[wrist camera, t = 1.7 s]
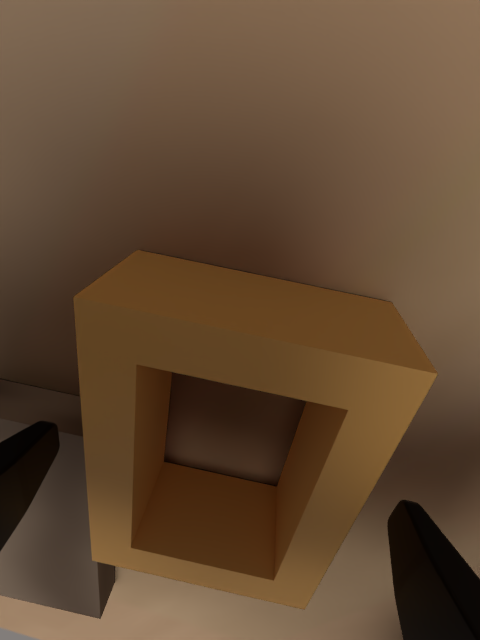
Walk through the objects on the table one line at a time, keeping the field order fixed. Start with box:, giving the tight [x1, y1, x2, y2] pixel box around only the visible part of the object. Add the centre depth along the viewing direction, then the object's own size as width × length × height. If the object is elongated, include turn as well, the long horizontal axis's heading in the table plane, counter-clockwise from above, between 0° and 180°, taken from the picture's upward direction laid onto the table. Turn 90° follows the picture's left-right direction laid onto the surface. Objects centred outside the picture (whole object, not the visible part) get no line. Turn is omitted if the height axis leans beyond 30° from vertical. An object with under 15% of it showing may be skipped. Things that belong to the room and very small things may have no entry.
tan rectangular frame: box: [73, 250, 438, 610], centre depth 10 cm, size 7×9×3 cm
